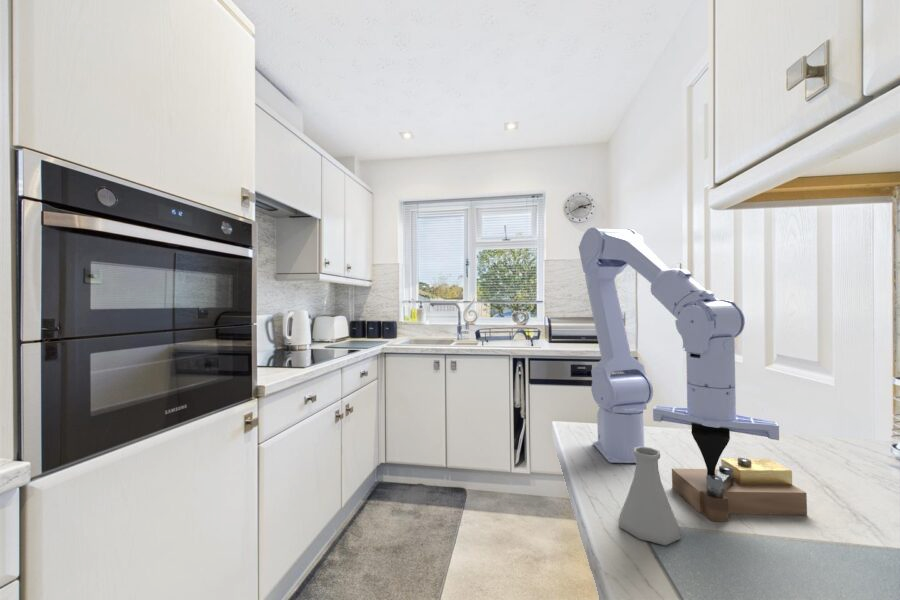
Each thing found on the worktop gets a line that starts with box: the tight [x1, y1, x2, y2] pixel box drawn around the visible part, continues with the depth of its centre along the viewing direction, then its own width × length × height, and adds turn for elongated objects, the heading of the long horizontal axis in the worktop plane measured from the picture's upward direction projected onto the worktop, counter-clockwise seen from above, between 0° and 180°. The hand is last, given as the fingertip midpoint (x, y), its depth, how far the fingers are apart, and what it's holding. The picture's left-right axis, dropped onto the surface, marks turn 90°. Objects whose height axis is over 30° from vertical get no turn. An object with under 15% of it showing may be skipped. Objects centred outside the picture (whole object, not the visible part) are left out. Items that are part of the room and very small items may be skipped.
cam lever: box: [706, 465, 734, 498], centre depth 51 cm, size 7×2×2 cm, turn 129°
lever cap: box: [720, 457, 793, 485], centre depth 54 cm, size 4×7×3 cm, turn 86°
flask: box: [618, 446, 682, 546], centre depth 48 cm, size 7×7×10 cm
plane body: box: [671, 468, 808, 522], centre depth 53 cm, size 9×14×3 cm, turn 86°
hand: (712, 478), depth 53 cm, fingers closed, pressing on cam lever
